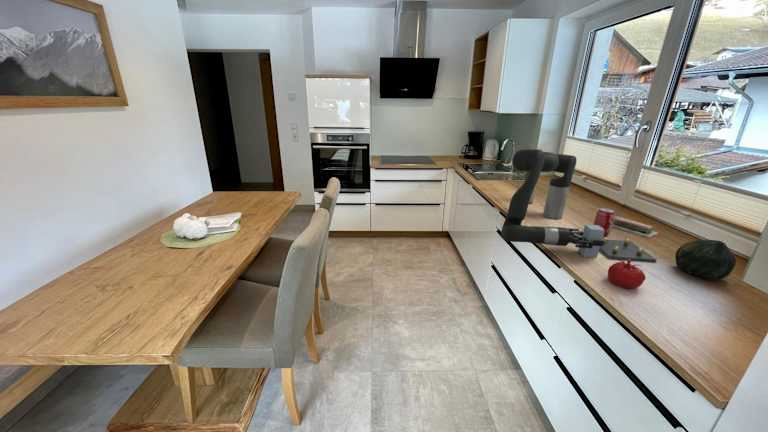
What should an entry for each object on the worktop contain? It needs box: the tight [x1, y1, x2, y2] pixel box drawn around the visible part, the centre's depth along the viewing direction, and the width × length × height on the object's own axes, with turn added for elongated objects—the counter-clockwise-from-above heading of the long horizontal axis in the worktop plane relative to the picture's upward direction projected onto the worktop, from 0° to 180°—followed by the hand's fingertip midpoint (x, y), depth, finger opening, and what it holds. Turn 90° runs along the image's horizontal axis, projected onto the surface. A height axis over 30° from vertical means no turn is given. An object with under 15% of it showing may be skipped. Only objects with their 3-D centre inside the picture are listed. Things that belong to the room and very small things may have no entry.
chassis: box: [599, 236, 658, 263], centre depth 128 cm, size 17×17×4 cm
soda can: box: [593, 207, 616, 237], centre depth 144 cm, size 7×7×12 cm
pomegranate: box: [607, 259, 647, 289], centre depth 104 cm, size 10×10×9 cm
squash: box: [674, 239, 737, 281], centre depth 110 cm, size 14×15×15 cm
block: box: [577, 224, 605, 258], centre depth 124 cm, size 5×5×12 cm
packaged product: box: [612, 215, 659, 239], centre depth 150 cm, size 18×5×10 cm
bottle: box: [524, 171, 539, 205], centre depth 183 cm, size 7×7×30 cm
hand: (597, 239), depth 123 cm, fingers open, 7 cm apart
